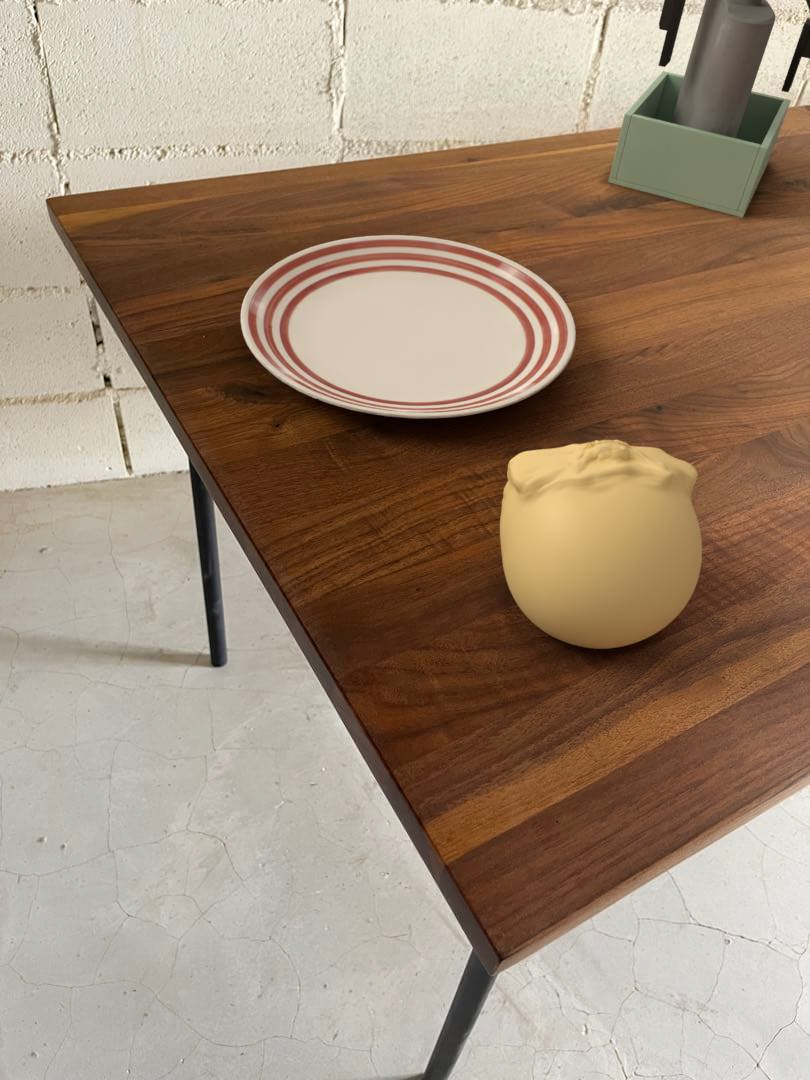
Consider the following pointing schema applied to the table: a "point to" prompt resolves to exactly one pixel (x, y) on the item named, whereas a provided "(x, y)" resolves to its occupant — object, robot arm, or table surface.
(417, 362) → the dinner plate
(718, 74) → the flask
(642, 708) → the table surface
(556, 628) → the sculpture
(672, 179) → the basin
